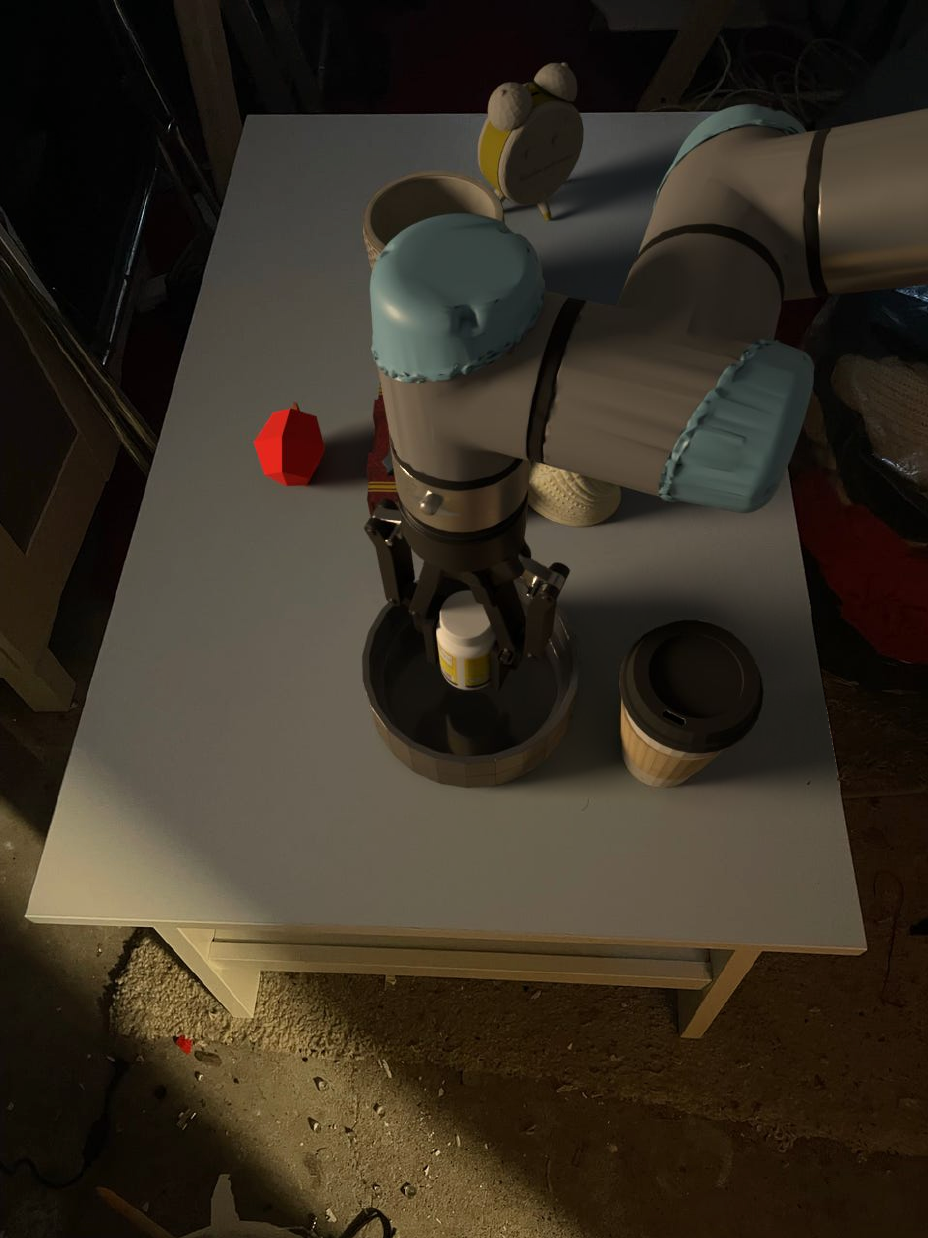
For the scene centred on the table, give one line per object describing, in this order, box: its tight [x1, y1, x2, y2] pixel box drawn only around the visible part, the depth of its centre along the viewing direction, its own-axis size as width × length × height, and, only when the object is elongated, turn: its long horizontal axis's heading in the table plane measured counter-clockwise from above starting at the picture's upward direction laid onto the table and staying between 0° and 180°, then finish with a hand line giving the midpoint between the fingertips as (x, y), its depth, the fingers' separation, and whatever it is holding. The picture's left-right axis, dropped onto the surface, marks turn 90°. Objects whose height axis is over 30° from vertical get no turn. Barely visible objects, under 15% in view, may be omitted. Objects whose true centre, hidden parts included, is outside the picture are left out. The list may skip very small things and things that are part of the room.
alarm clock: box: [477, 61, 585, 221], centre depth 99 cm, size 12×7×15 cm, turn 124°
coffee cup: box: [618, 619, 764, 789], centre depth 67 cm, size 10×10×15 cm
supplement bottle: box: [436, 591, 496, 690], centre depth 67 cm, size 5×5×8 cm
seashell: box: [528, 461, 622, 528], centre depth 83 cm, size 8×8×8 cm
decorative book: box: [366, 381, 399, 518], centre depth 86 cm, size 11×16×5 cm
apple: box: [253, 401, 326, 487], centre depth 86 cm, size 7×7×8 cm
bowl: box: [361, 576, 581, 789], centre depth 73 cm, size 17×17×6 cm
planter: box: [362, 170, 506, 272], centre depth 92 cm, size 14×14×13 cm
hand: (470, 661), depth 71 cm, fingers closed on supplement bottle, 5 cm apart
